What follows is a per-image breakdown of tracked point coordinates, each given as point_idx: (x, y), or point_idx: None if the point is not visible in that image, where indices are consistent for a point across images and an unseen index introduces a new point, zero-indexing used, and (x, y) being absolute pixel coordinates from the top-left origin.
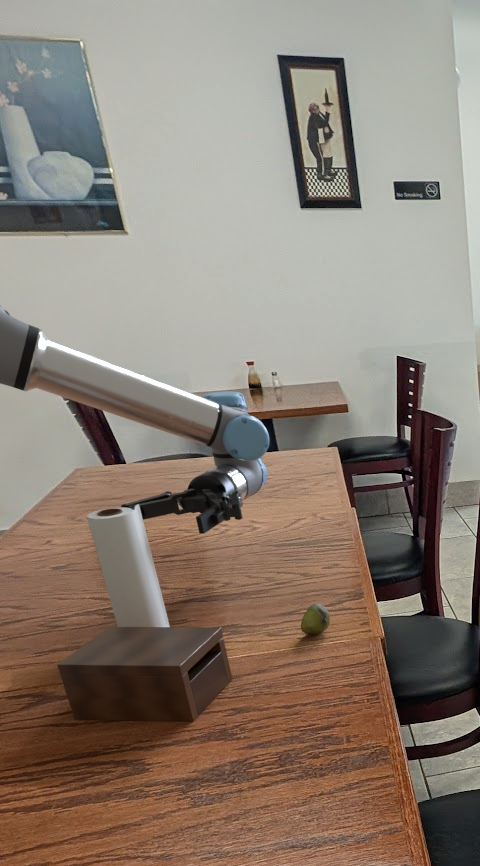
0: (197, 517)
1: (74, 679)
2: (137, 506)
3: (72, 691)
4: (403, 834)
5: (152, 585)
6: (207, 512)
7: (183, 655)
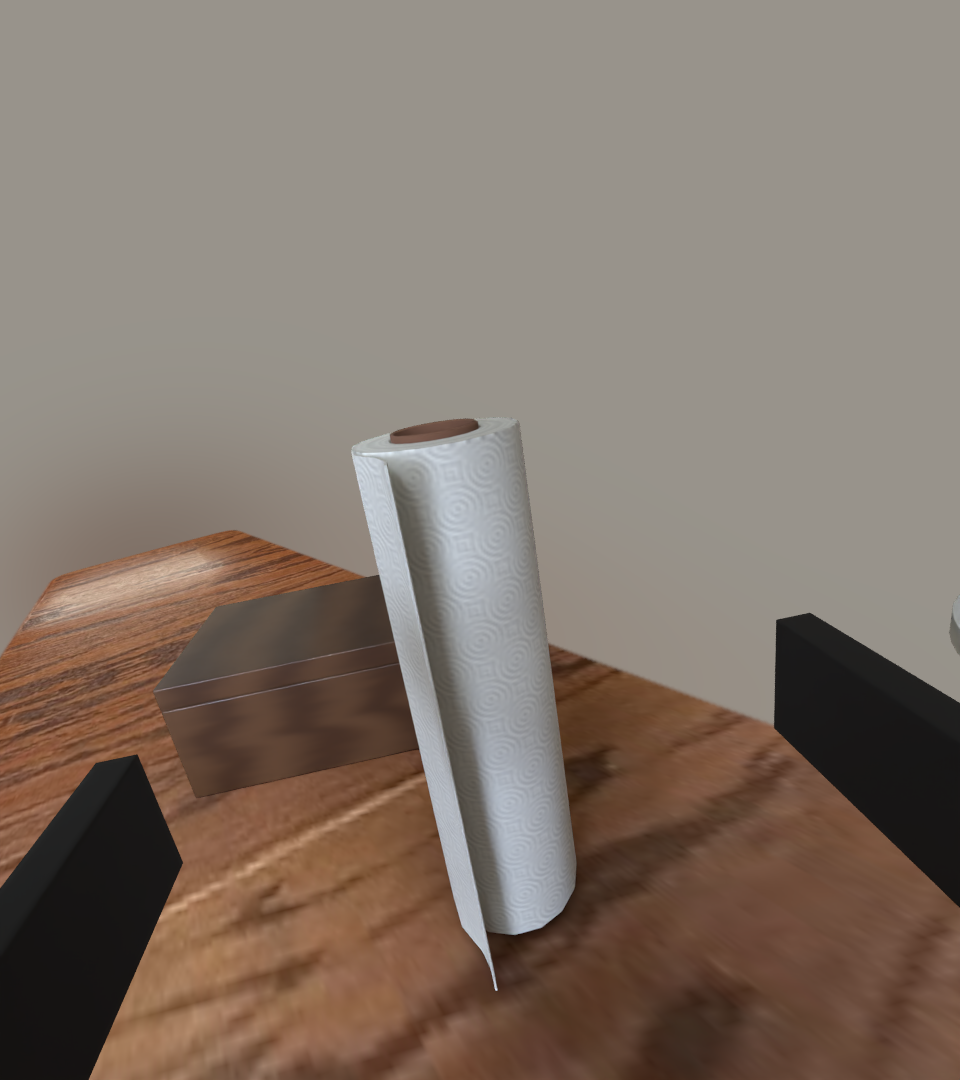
0: (124, 761)
1: None
2: (386, 471)
3: None
4: (9, 646)
5: (417, 738)
6: (6, 882)
7: (216, 620)
